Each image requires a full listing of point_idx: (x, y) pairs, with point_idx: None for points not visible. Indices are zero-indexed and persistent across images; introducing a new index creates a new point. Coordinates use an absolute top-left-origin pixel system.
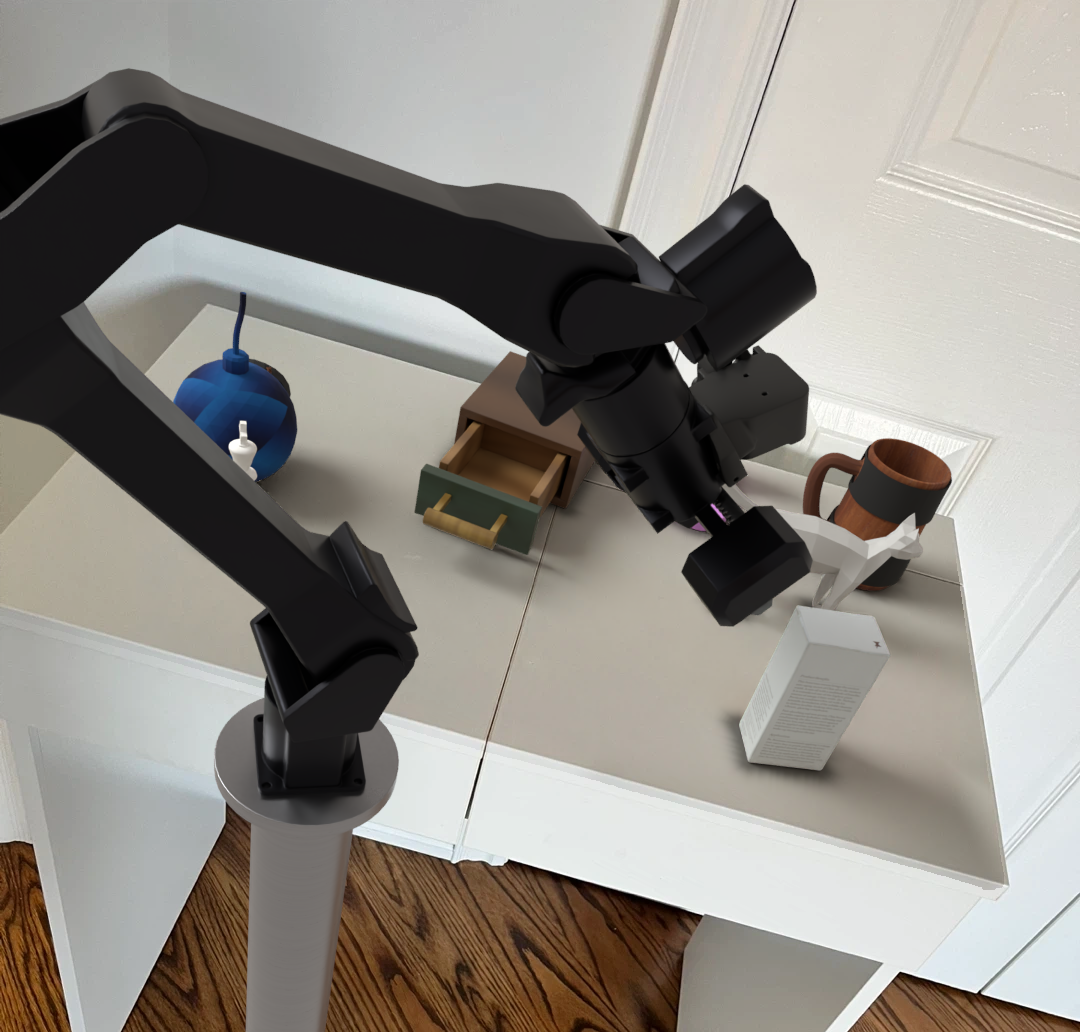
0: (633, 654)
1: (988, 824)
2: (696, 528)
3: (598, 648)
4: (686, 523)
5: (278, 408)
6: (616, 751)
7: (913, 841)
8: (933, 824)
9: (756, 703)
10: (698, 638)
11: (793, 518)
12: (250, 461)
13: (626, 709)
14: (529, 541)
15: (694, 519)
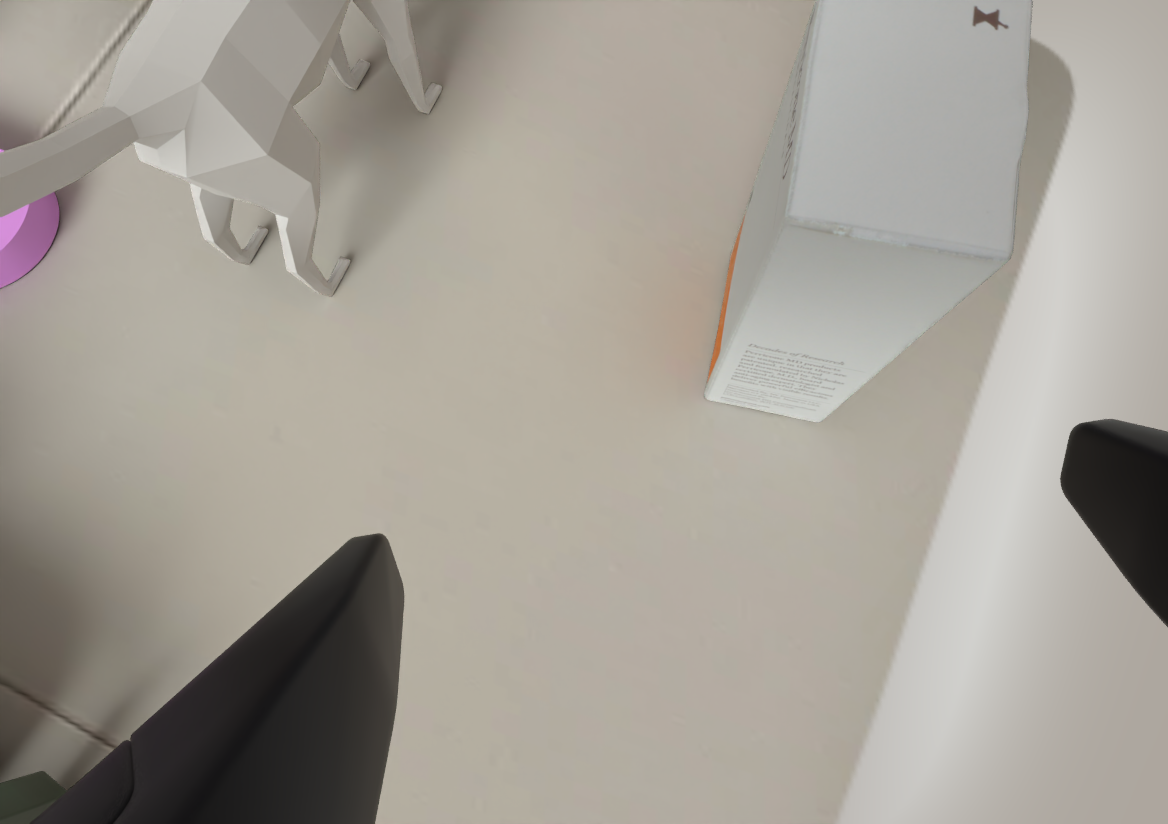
0: (466, 579)
1: None
2: (42, 251)
3: (438, 669)
4: (397, 627)
5: None
6: (788, 740)
7: None
8: None
9: (757, 377)
10: (425, 390)
11: (184, 21)
12: None
13: (651, 664)
14: (29, 812)
15: (387, 582)
